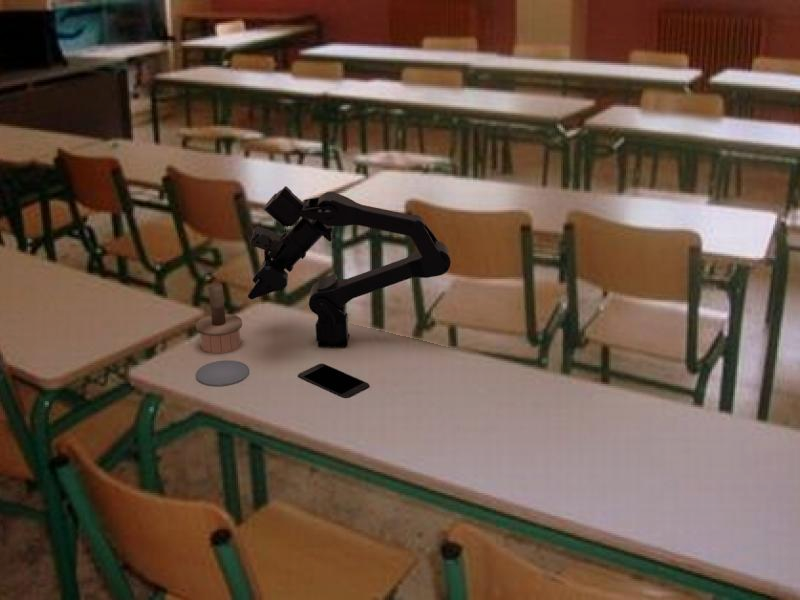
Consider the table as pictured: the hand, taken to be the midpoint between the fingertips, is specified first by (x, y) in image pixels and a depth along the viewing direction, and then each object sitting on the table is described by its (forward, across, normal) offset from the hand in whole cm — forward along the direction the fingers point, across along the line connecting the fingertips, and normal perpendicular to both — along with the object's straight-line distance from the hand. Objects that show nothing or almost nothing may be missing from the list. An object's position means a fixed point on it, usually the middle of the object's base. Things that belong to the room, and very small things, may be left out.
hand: (251, 289), depth 208 cm
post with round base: (+12, 0, 0) cm, 12 cm away
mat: (+13, +14, +5) cm, 20 cm away
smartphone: (-3, +19, +22) cm, 29 cm away
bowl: (+15, 0, +4) cm, 15 cm away
